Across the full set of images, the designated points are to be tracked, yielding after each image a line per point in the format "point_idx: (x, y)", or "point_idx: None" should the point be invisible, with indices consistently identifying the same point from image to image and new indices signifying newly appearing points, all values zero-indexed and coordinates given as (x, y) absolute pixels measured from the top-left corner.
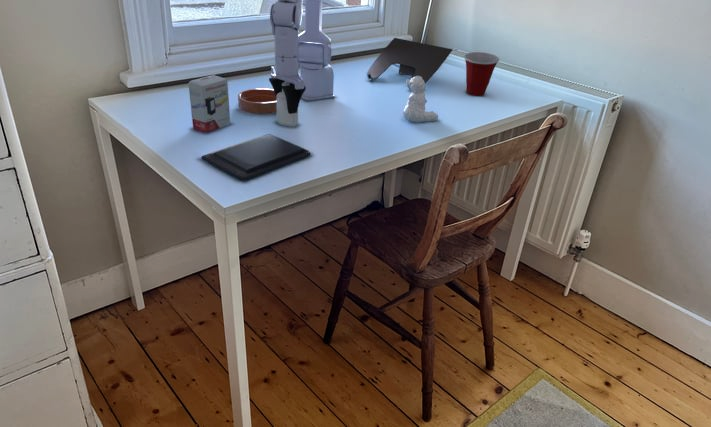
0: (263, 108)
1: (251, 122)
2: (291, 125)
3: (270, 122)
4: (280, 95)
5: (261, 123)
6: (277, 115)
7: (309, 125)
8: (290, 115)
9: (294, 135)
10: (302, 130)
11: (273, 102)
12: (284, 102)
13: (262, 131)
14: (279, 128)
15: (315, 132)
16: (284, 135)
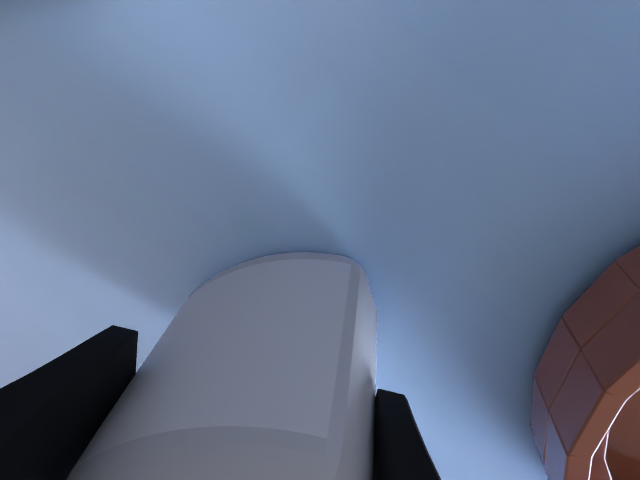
0: (615, 315)
1: (536, 68)
2: (197, 290)
3: (405, 219)
4: (213, 475)
5: (440, 137)
6: (331, 287)
7: None
8: (165, 337)
9: (38, 191)
10: (106, 302)
11: (574, 440)
12: (168, 409)
13: (253, 9)
14: (234, 191)
15: (33, 343)
16: (70, 123)
